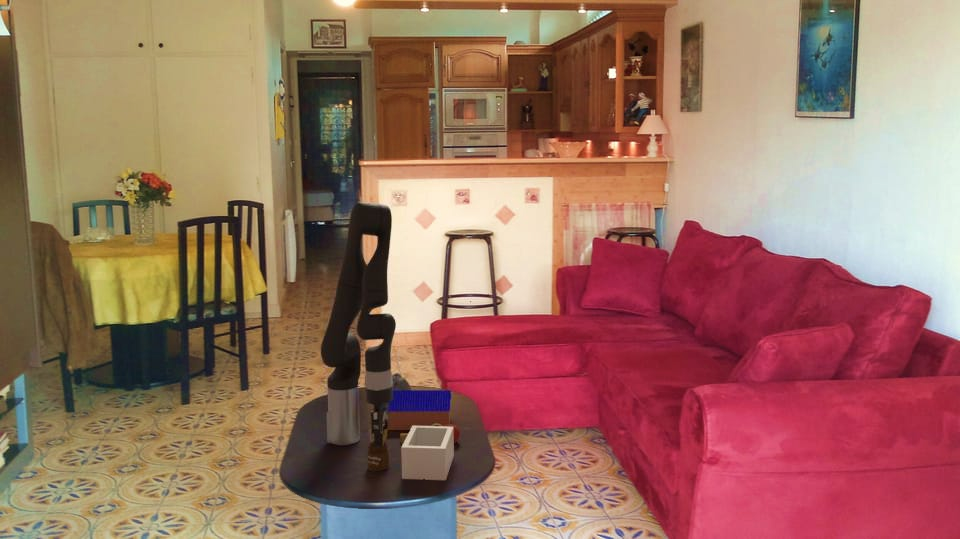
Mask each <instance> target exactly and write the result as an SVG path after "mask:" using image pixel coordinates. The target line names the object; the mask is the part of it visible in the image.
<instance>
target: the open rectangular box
mask: <svg viewBox="0 0 960 539" xmlns="http://www.w3.org/2000/svg"><path fill="white" fill-rule="evenodd" d="M454 444H455V443H454V430H453V427H446V426H412V427H411V429H410V431H409V432H408V435H407V437H406V439H405V441H404V443H402V445H401V451H400V452H401V479H402V480H423V479H425V480H429V481H447V477H448V475H449V471H450V468H451V466H452V463H453V460H454V456H455V451H454V450H455V449H454V448H455V447H454Z"/></svg>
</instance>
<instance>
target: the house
mask: <svg viewBox="0 0 960 539" xmlns="http://www.w3.org/2000/svg"><path fill="white" fill-rule="evenodd" d="M451 400H452V393H451V390H450V389H446V390H445V389H437V390H436V389H435V390H433V389H431V390H430V389H429V390H427V389H425V390H423V389H420V390H419V389H415V390H414V389H413V390H412V389H411V390H393V400H392V401H391V402H390V403H389V415H390V416H389V418H388V419H389V421H388V430H410V429H411V427H412V426H432V425H433V424H441V425H442V426H445V425H447V424H451V419H452V418H451V413H452V412H451Z"/></svg>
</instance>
